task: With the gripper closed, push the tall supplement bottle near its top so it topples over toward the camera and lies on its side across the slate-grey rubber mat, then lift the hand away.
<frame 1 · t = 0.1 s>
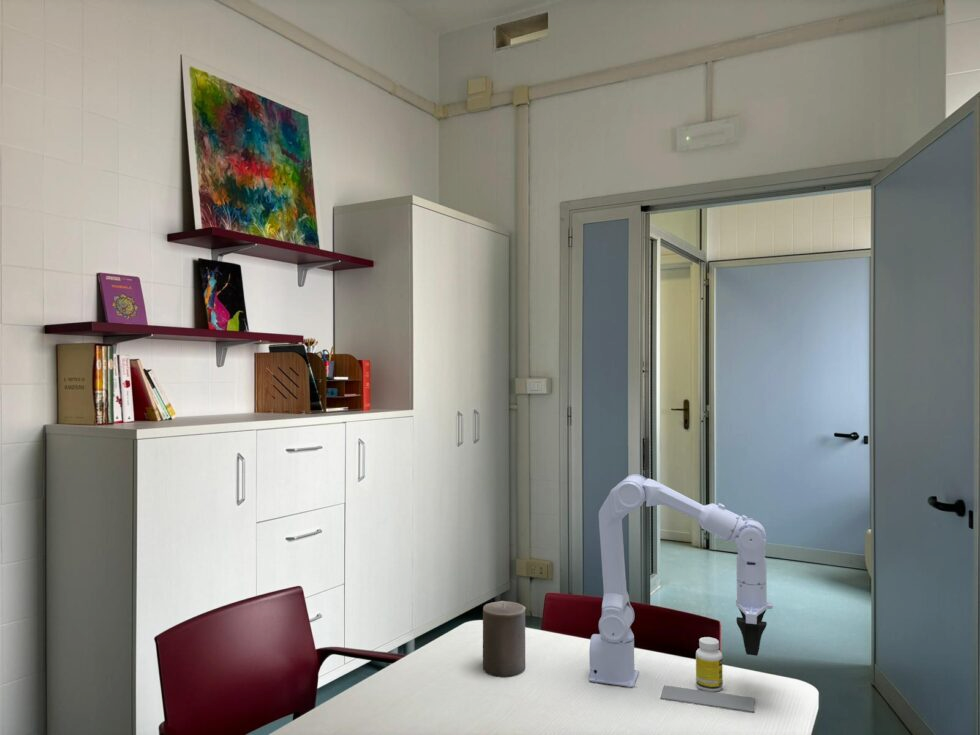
hand: (752, 647, 147), 10 cm above the table, tool pointing down, fingers open, 7 cm apart
supplement bottle: (709, 687, 152), on the table
pillar candle: (504, 669, 163), on the table
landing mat: (707, 699, 146), on the table
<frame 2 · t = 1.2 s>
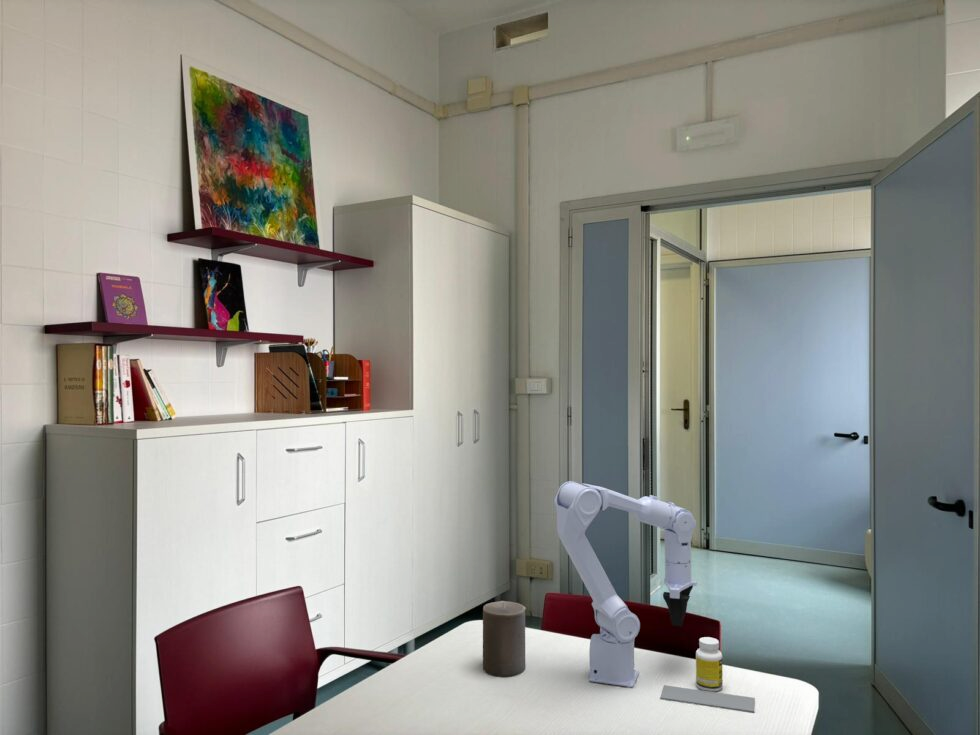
hand: (678, 620, 162), 10 cm above the table, tool pointing down, fingers open, 5 cm apart
nothing on the table moved.
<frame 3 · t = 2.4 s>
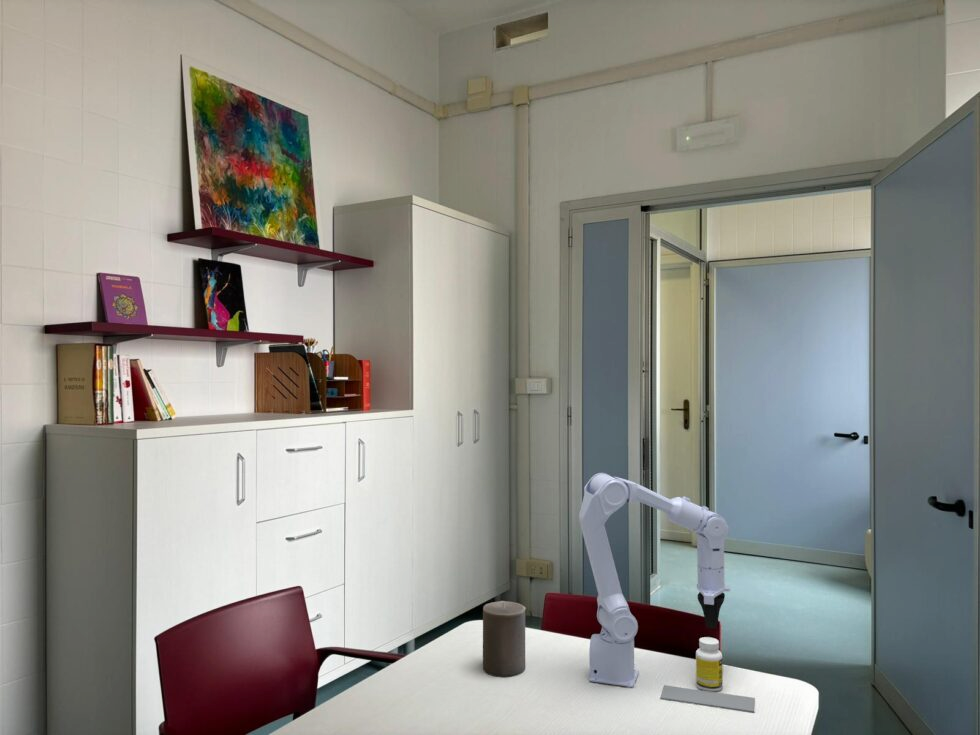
hand: (711, 626, 160), 10 cm above the table, tool pointing down, fingers closed
nothing on the table moved.
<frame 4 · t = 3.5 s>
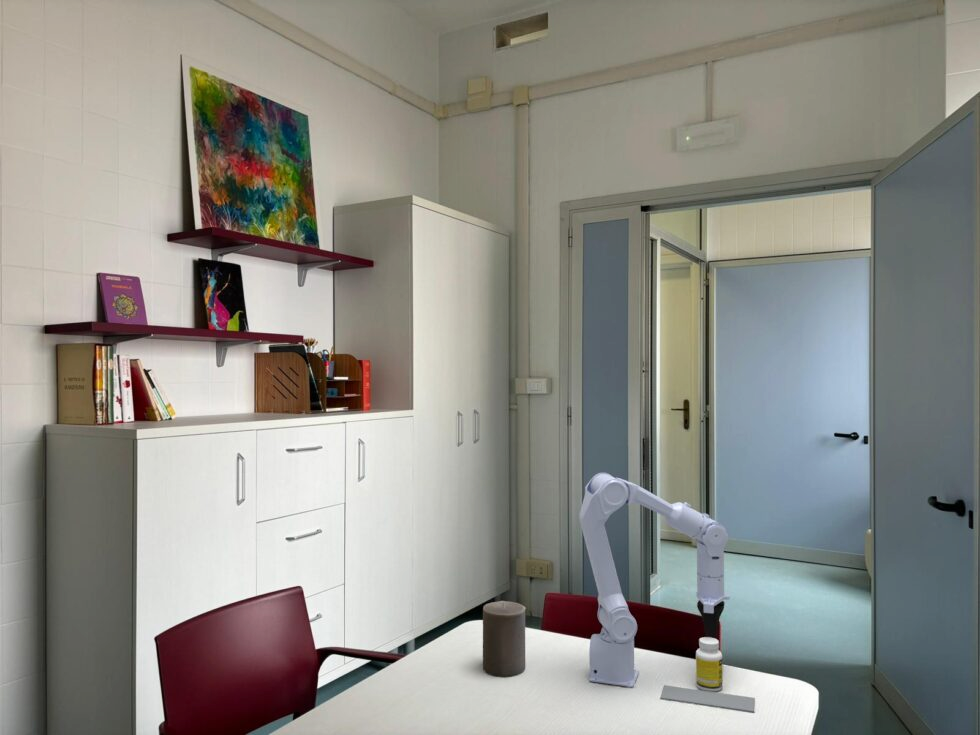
hand: (711, 635, 160), 8 cm above the table, tool pointing down, fingers closed
nothing on the table moved.
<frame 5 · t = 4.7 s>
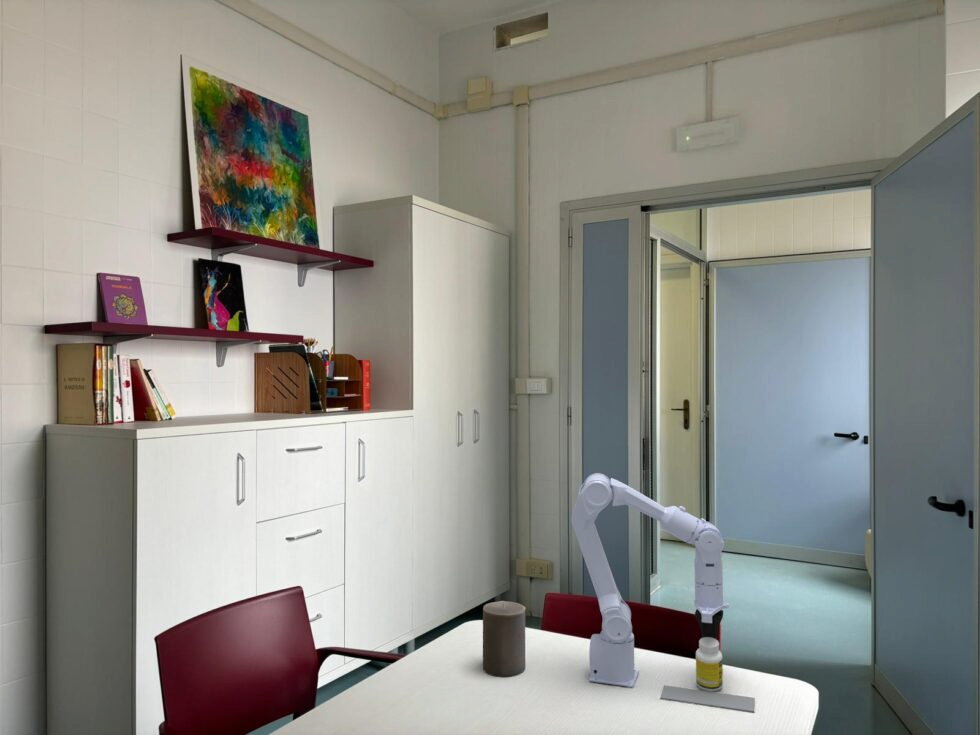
hand: (709, 645, 154), 8 cm above the table, tool pointing down, fingers closed, pressing on supplement bottle
supplement bottle: (709, 685, 152), on the table, touching gripper
everything else where it was.
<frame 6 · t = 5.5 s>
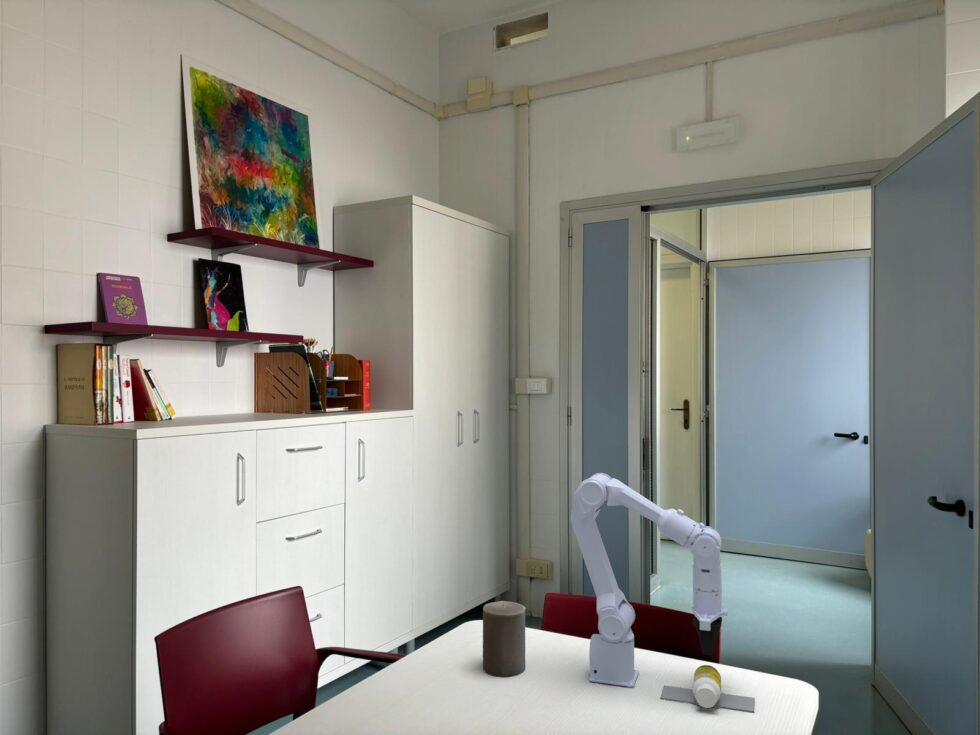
hand: (707, 653, 150), 8 cm above the table, tool pointing down, fingers closed
supplement bottle: (707, 676, 150), point 3 cm above the table, touching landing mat
everything else where it was.
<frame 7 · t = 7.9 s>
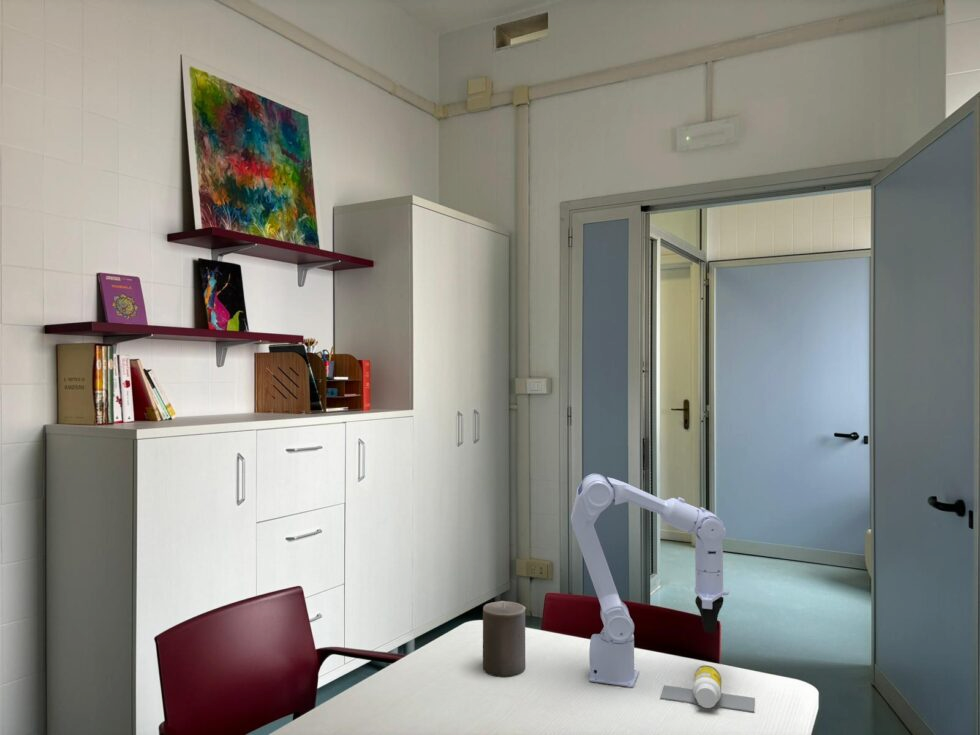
hand: (709, 631, 156), 10 cm above the table, tool pointing down, fingers closed
nothing on the table moved.
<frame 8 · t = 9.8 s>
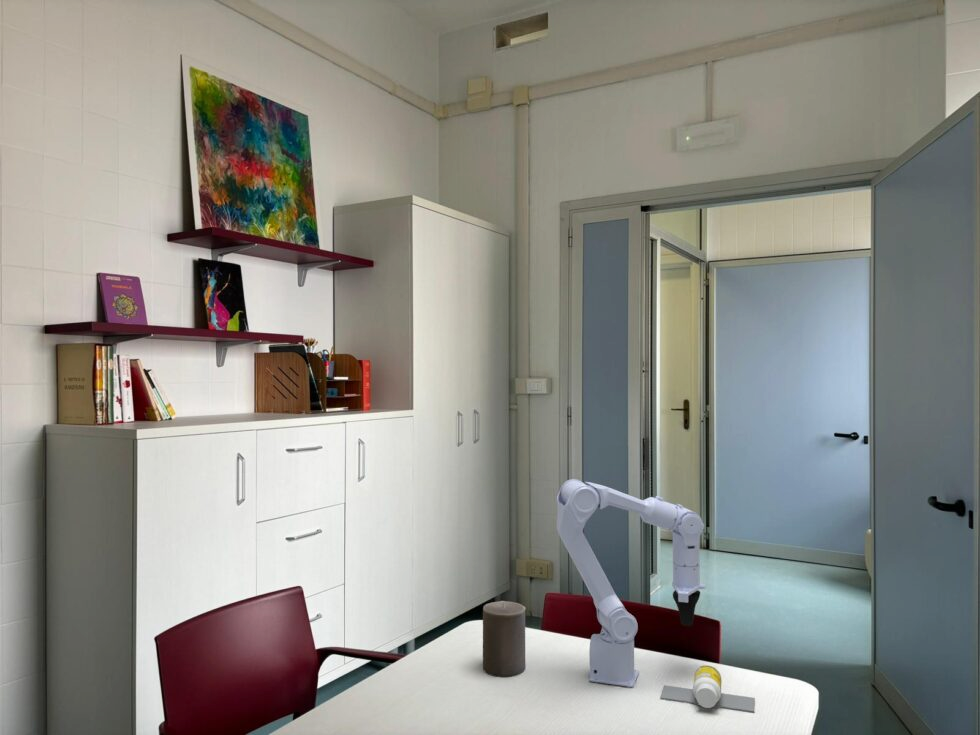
hand: (687, 624, 159), 10 cm above the table, tool pointing down, fingers closed
nothing on the table moved.
at the end: supplement bottle tilted 91°; supplement bottle inside the target area (0.6 cm from its centre), point 3.0 cm above the table; the gripper is holding nothing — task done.
